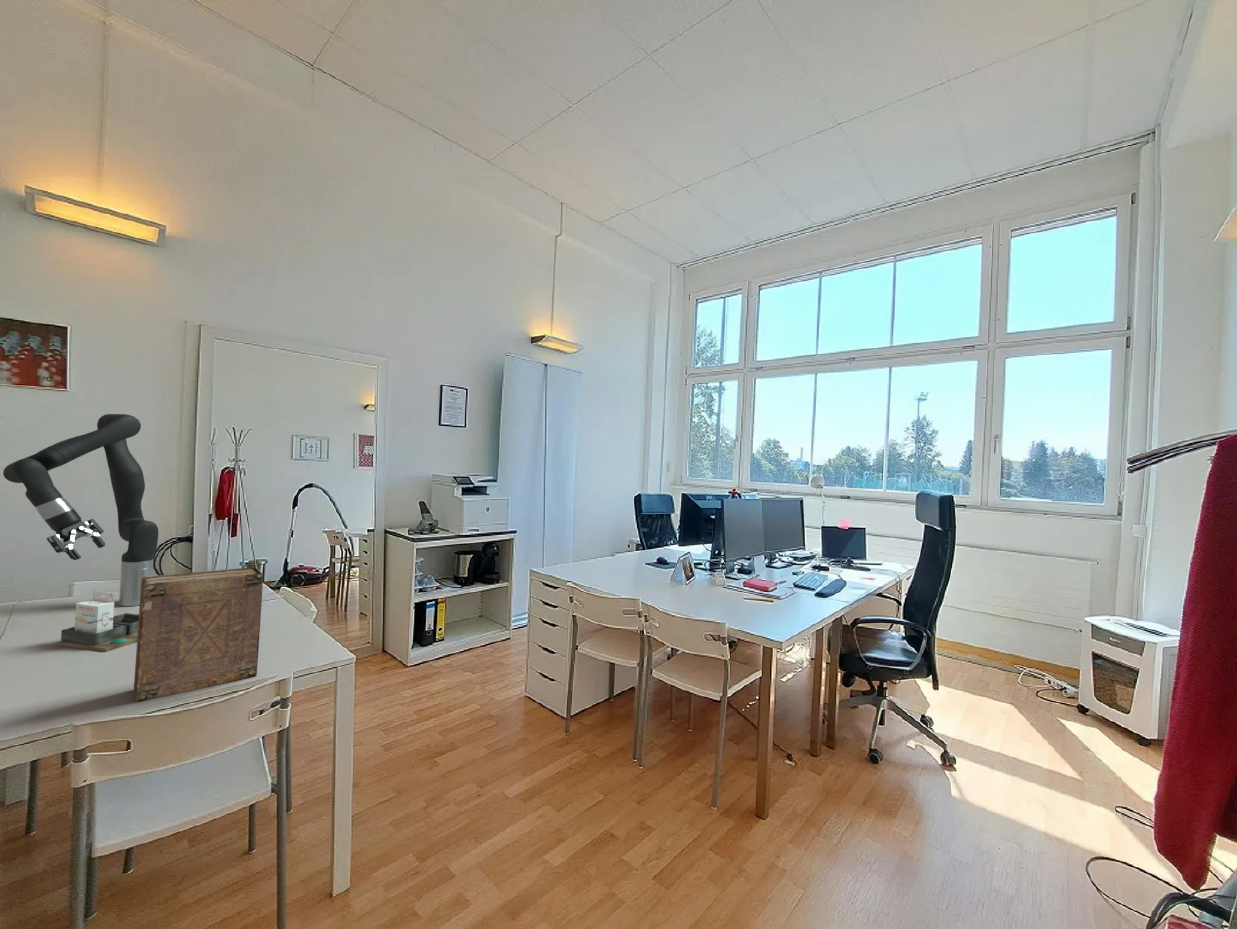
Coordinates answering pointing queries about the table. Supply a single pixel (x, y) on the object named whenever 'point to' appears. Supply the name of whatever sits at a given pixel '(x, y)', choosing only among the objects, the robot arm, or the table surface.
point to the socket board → (104, 635)
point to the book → (197, 630)
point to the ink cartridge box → (95, 613)
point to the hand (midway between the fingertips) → (90, 552)
